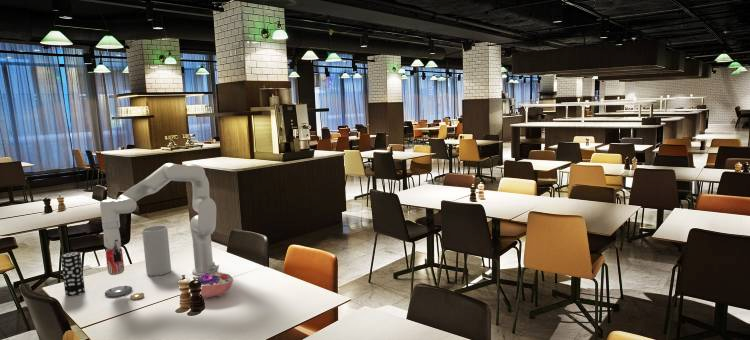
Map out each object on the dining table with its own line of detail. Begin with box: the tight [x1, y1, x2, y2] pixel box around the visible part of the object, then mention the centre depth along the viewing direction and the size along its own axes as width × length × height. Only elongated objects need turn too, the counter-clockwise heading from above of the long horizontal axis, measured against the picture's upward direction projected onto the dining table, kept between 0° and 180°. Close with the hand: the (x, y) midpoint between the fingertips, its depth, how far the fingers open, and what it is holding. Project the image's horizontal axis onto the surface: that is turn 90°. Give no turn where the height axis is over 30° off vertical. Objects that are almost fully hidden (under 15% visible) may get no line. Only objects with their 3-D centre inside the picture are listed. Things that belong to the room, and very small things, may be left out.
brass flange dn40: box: [129, 292, 145, 301], centre depth 231 cm, size 6×6×1 cm
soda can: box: [105, 247, 125, 276], centre depth 236 cm, size 7×7×13 cm
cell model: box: [195, 272, 234, 298], centre depth 230 cm, size 17×20×11 cm
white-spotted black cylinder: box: [60, 251, 86, 297], centre depth 238 cm, size 8×8×20 cm
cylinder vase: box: [141, 225, 172, 277], centre depth 264 cm, size 12×12×25 cm
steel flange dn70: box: [104, 285, 133, 298], centre depth 238 cm, size 12×12×2 cm
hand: (114, 259), depth 236 cm, fingers closed on soda can, 7 cm apart
